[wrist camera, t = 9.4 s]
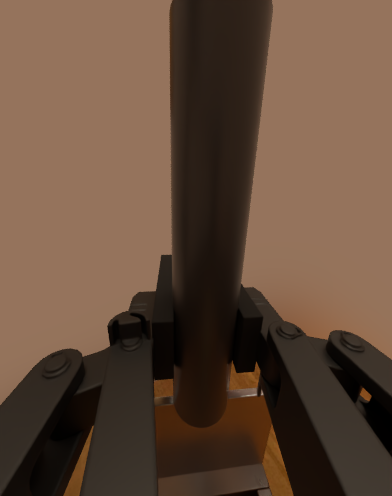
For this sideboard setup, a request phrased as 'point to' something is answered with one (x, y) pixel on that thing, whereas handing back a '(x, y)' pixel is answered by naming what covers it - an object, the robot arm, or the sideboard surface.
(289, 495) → the sideboard surface
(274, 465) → the sideboard surface
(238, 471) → the knife stand
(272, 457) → the sideboard surface
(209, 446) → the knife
